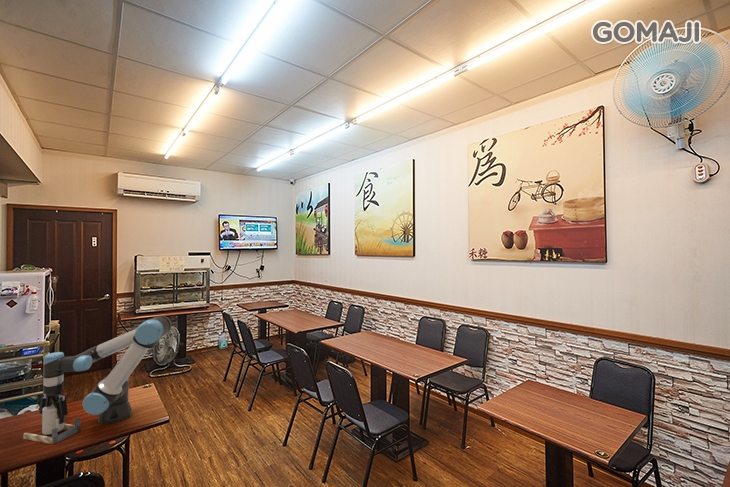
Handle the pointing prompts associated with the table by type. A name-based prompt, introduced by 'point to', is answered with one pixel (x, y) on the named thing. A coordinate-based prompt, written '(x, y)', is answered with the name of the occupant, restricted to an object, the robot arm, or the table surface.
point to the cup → (49, 419)
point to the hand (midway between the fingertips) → (53, 428)
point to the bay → (55, 433)
